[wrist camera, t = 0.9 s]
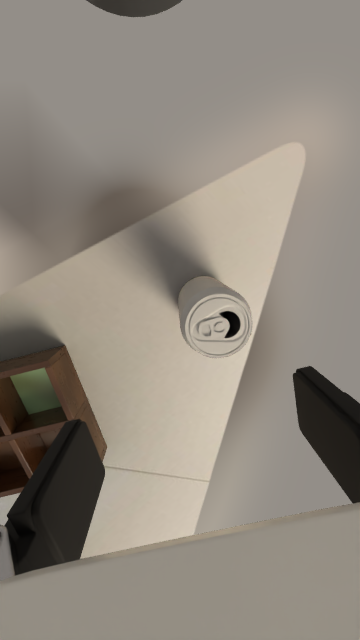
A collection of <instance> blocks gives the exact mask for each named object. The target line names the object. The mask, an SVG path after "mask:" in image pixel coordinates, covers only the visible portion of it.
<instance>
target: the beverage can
mask: <svg viewBox="0 0 360 640" xmlns="http://www.w3.org/2000/svg"><path fill="white" fill-rule="evenodd" d="M178 308H179V318H180V328H181V332H182V335H183V338H184V339H185V341H186V343H187V344H188V345H189V346H190V347H191V348H192V349H194V350H195V351H197V352H198V353H200V354H202V355H204V356H207V357H210V358H224V357H228V356H231V355H233V354H235V353H236V352H238V351H239V350H240V349H241V348H242V347H243V346H244V345H245V344H246V343H247V341H248V339H249V337H250V334H251V331H252V314H251V310H250V307H249V305H248V303H247V302H246V300H245V299H244V298H243V297H242V296H241V295H240V294H239V293H237V292H236V291H234V290H232V289H231V288H229V287H228V286H226V285H224V284H223V283H221V282H219V281H218V280H216V279H214V278H212V277H208V276H200V277H196V278H193V279H191V280H190V281H188V282H187V283H186V284H185V285H184V286H183V288H182V289H181V291H180V293H179V297H178Z"/></svg>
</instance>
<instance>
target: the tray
mask: <svg viewBox="0 0 360 640" xmlns="http://www.w3.org/2000/svg"><path fill="white" fill-rule="evenodd" d="M76 419H81V420H82V421H85V422H86V424H87V426H88V429H89V431H90V434H91V436H92V439H93V441H94V443H95V446H96V448H97V451H98V453H99V456H100V458H101V461H102V462H103V459H104V456H105V453H106V449H107V445H106V443H105V441H104V438H103V436H102V433H101V431H100V428H99V426H98V424H97V421H96V419H95V416H94V414H93V411H92V409H91V407H90V404H89V402H88V399H87V397H86V395H85V392H84V390H83V387H82V385H81V382H80V380H79V378H78V375H77V373H76V370H75V368H74V366H73V363H72V361H71V358H70V356H69V353H68V351H67V349H66V346H61V347H57V348H53V349H49V350H45V351H41V352H37V353H33V354H29V355H25V356H21V357H18V358H14V359H10V360H6V361H2V362H0V497H4V496H8V495H12V494H16V493H21V492H22V490H23V489H24V487H25V486H26V484H27V482H28V481H29V479H30V478H31V476H32V474H33V473H34V471H35V470H36V468H37V466H38V465H39V463H40V462H41V460H42V459H43V457H44V455H45V454H46V452H47V451H48V449H49V447H50V446H51V444H52V443H53V441H54V439H55V438H56V436H57V435H58V433H59V432H60V430H61V428H62V427H63V425H64V424H65V422H67V421H71V420H76Z"/></svg>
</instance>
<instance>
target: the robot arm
mask: <svg viewBox="0 0 360 640" xmlns="http://www.w3.org/2000/svg"><path fill="white" fill-rule="evenodd" d="M293 382H294V390H295V398H296V406H297V414H298V422H299V427H300V430H301V432H302V434H303V435H304V436H305V438H306V439H307V440H308V442H309V443H310V445H311V446H312V448H313V449H314V450H315V451H316V453H317V454H318V456H319V457H320V458H321V460H322V461H323V463H324V464H325V466H326V467H327V468H328V470H329V471H330V472H331V474H332V475H333V477H334V478H335V479H336V481H337V482H338V483H339V485H340V486H341V488H342V489H343V490H344V492H345V493H346V495H347V496H348V497H349V499H350V500H351V501H352V503H353V504H348V505H342V506H337V507H331V508H326V509H321V510H315V511H310V512H305V513H300V514H295V515H290V516H285V517H280V518H275V519H270V520H265V521H260V522H255V523H250V524H246V525H240V526H235V527H231V528H226V529H221V530H216V531H211V532H206V533H202V534H197V535H192V536H187V537H182V538H178V539H173V540H168V541H163V542H159V543H154V544H149V545H144V546H140V547H135V548H130V549H126V550H121V551H117V552H112V553H107V554H103V555H98V556H93V557H89V558H84V559H80V557H81V553H82V550H83V547H84V543H85V540H86V537H87V533H88V530H89V527H90V523H91V520H92V517H93V513H94V510H95V507H96V503H97V500H98V497H99V493H100V490H101V487H102V484H103V480H104V477H105V468H104V465H103V463H102V461H101V458H100V456H99V453H98V451H97V448H96V446H95V443H94V441H93V439H92V436H91V434H90V431H89V429H88V426H87V424H86V422H85V421H82V420H81V419H76V420H71V421H67V422H65V424H64V425H63V427H62V428H61V430H60V432H59V433H58V435H57V436H56V438H55V439H54V441H53V443H52V444H51V446H50V447H49V449H48V451H47V452H46V454H45V455H44V457H43V459H42V460H41V462H40V463H39V465H38V466H37V468H36V470H35V471H34V473H33V474H32V476H31V478H30V479H29V481H28V482H27V484H26V486H25V487H24V489H23V490H22V492H21V493H20V495H19V497H18V498H17V500H16V501H15V503H14V505H13V506H12V508H11V509H10V511H9V513H8V514H7V517H8V521H7V523H6V524H5V526H3V525H0V640H360V404H359V403H358V402H357V401H356V400H355V399H353V398H352V397H351V396H350V395H348V394H347V393H345V392H342V391H341V390H340V389H338V388H337V387H336V386H335V385H334V384H333V383H331V382H330V381H329V380H328V379H326V378H325V377H324V376H323V375H321V374H320V373H319V372H318V371H317V370H315V369H314V368H313V367H311V366H309V367H304V368H300V369H297V370H296V373H294V374H293Z"/></svg>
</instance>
